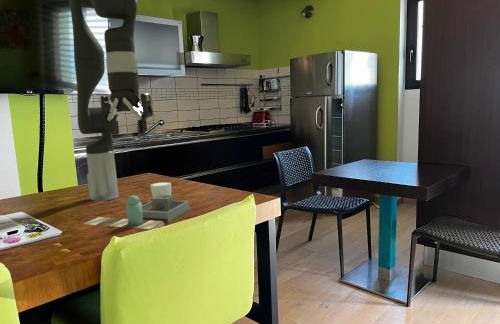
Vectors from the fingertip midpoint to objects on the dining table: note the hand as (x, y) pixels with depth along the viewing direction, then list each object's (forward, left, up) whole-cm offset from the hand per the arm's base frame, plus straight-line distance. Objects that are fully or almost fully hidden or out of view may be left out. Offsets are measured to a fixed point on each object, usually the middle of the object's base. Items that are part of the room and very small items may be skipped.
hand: (128, 134), depth 99 cm
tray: (+1, +11, -25) cm, 28 cm away
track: (-4, -1, -25) cm, 26 cm away
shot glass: (-6, +22, -26) cm, 35 cm away
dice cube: (+1, +11, -25) cm, 28 cm away
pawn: (0, -1, -24) cm, 24 cm away
